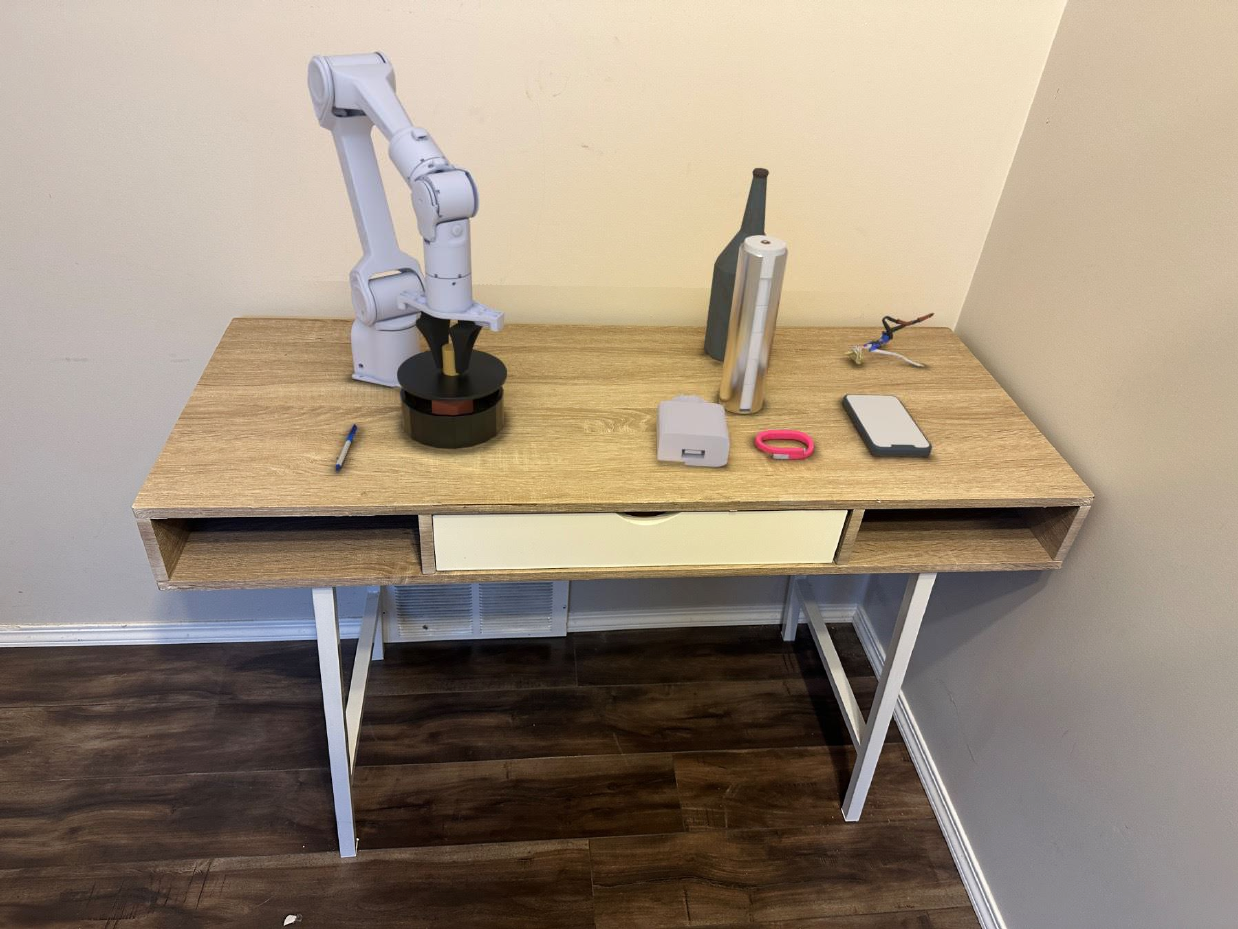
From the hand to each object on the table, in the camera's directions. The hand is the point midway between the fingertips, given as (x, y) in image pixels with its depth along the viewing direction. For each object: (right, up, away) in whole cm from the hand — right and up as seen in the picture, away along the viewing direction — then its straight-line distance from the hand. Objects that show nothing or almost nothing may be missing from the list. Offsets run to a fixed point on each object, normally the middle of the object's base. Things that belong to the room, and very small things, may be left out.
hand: (452, 368), depth 119 cm
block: (-1, -7, +5) cm, 8 cm away
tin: (-1, -7, +5) cm, 9 cm away
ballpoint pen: (-13, -11, -2) cm, 17 cm away
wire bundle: (+65, +5, +31) cm, 73 cm away
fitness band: (+45, -11, +5) cm, 46 cm away
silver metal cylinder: (+40, -4, +15) cm, 43 cm away
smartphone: (+60, -8, +11) cm, 62 cm away
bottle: (+41, +5, +29) cm, 50 cm away
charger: (+32, -9, +6) cm, 34 cm away
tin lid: (0, -1, +1) cm, 1 cm away
